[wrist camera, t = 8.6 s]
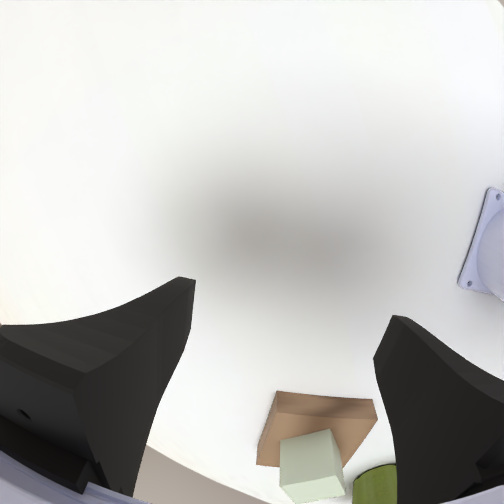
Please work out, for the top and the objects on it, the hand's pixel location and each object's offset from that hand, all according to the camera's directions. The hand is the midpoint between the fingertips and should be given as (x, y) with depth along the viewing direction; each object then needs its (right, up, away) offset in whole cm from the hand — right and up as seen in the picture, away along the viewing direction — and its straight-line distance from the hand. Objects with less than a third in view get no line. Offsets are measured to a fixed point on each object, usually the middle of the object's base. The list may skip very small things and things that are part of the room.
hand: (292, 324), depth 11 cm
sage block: (+4, -15, +14) cm, 21 cm away
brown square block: (+4, -14, +16) cm, 22 cm away
